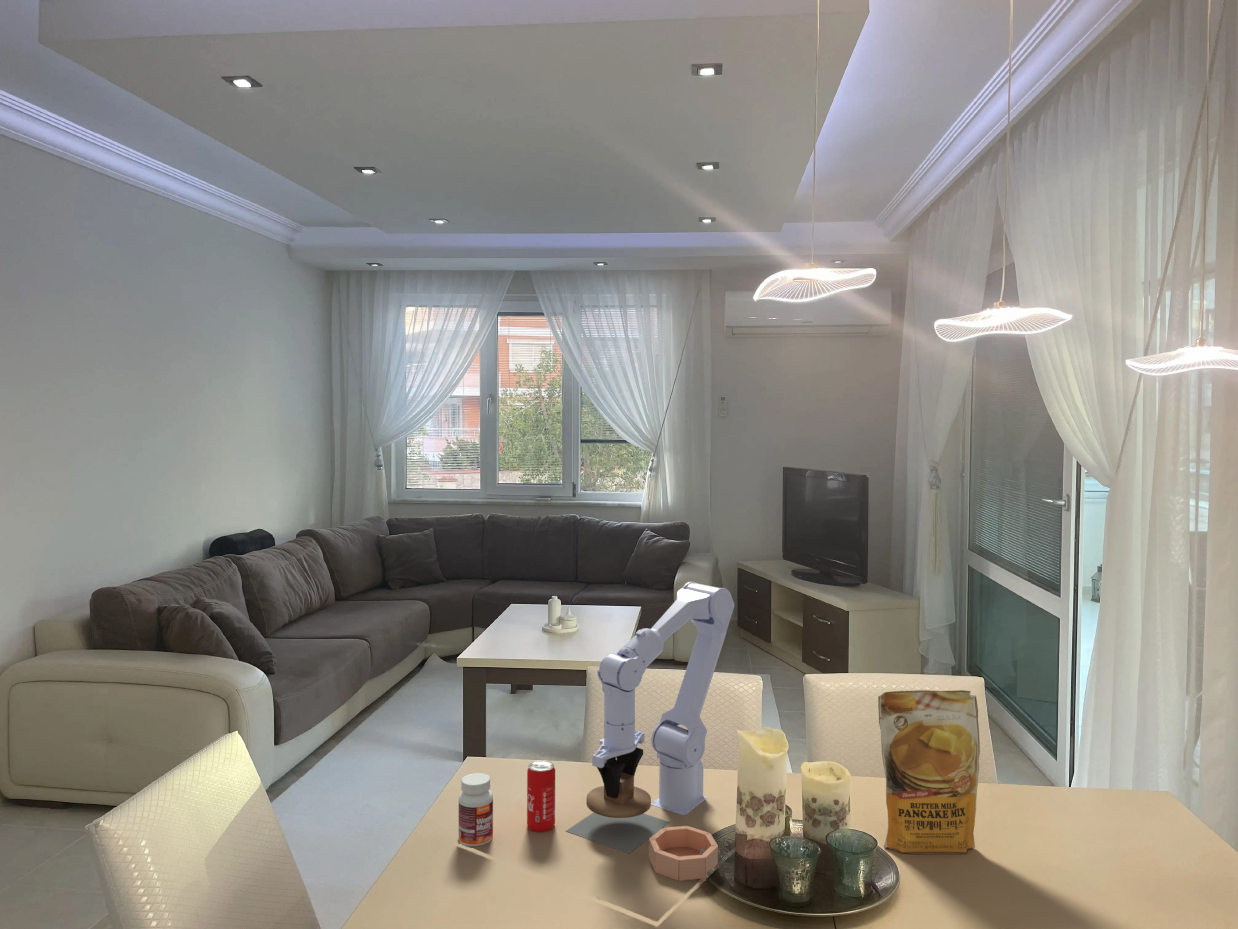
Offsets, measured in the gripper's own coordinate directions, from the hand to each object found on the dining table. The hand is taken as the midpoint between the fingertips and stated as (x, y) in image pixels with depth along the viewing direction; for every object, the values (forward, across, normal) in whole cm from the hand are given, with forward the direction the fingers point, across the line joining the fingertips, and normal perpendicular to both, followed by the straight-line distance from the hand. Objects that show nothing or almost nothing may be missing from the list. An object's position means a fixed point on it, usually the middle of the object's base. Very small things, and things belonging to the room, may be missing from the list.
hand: (619, 792), depth 153 cm
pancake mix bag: (+8, -27, +49) cm, 56 cm away
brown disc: (+2, 0, 0) cm, 2 cm away
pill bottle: (+7, +18, -19) cm, 27 cm away
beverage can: (+7, +8, -12) cm, 16 cm away
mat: (+7, 0, 0) cm, 7 cm away
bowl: (+7, +4, +16) cm, 18 cm away
